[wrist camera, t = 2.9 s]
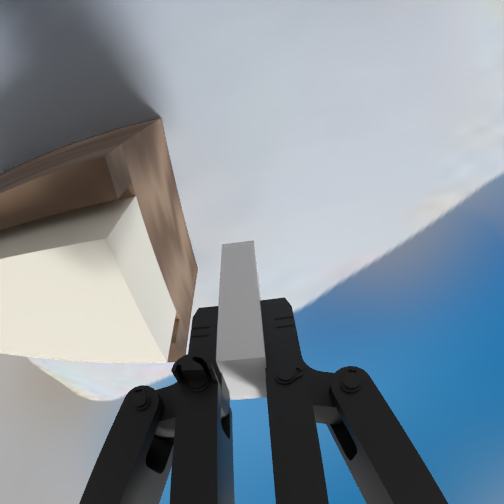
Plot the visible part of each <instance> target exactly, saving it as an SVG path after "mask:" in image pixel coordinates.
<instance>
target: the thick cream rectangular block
mask: <svg viewBox="0 0 504 504" xmlns="http://www.w3.org/2000/svg"><path fill="white" fill-rule="evenodd" d="M175 316H176V309H175V307H174V304H173V302H172V299H171V297H170V294H169V292H168V289H167V286H166V284H165V281H164V279H163V276H162V273H161V270H160V268H159V265H158V262H157V259H156V256H155V254H154V251H153V248H152V245H151V242H150V239H149V236H148V233H147V230H146V227H145V224H144V221H143V218H142V214H141V211H140V208H139V205H138V201H137V198H136V196H133V197H128V198H123V199H119V200H114V201H110V202H105V203H101V204H96V205H92V206H88V207H83V208H79V209H75V210H71V211H67V212H63V213H60V214H56V215H52V216H48V217H45V218H41V219H37V220H34V221H30V222H27V223H23V224H20V225H17V226H13V227H10V228H7V229H4V230H1V231H0V353H3V354H10V355H17V356H25V357H33V358H43V359H53V360H66V361H81V362H102V363H167V361H168V355H169V349H170V343H171V338H172V332H173V327H174V321H175Z"/></svg>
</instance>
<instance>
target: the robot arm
mask: <svg viewBox="0 0 504 504" xmlns="http://www.w3.org/2000/svg"><path fill="white" fill-rule="evenodd" d="M171 371H172V373H173V374H174V376H175V378H176V379H177V381H178V382H177V383H175V384H173V385H171V386H168V387H165V388H162V389H158V390H154V389H153V388H151V387H149V386H142V385H141V386H138V387H135V388H133V389H132V390H130V391H129V392H128V394H127V395H126V397H125V399H124V401H123V403H122V405H121V407H120V410H119V412H118V414H117V416H116V418H115V421H114V423H113V425H112V427H111V429H110V432H109V434H108V436H107V438H106V441H105V443H104V445H103V448H102V450H101V452H100V454H99V457H98V459H97V461H96V464H95V466H94V469H93V471H92V473H91V476H90V478H89V481H88V483H87V486H86V488H85V491H84V493H83V496H82V498H81V501H80V504H159V502H160V499H161V496H162V493H163V490H164V487H165V484H166V481H167V478H168V475H169V472H170V469H171V466H172V473H171V492H170V504H234V503H235V502H234V473H233V437H232V436H233V435H232V411H231V408H230V401H229V400H230V398H231V400H238V399H249V398H261V397H267V402H268V414H269V426H270V436H271V449H272V461H273V473H274V485H275V497H276V504H329V503H328V496H327V489H326V483H325V477H324V470H323V464H322V457H321V451H320V445H319V439H318V433H317V428H316V423H324V424H327V426H328V428H329V430H330V432H331V434H332V436H333V438H334V440H335V442H336V444H337V446H338V448H339V450H340V452H341V454H342V456H343V458H344V460H345V462H346V464H347V466H348V468H349V470H350V472H351V474H352V476H353V478H354V480H355V482H356V484H357V486H358V487H359V489H360V491H361V493H362V495H363V497H364V499H365V501H366V503H367V504H448V503H447V501H446V499H445V498H444V496H443V494H442V492H441V490H440V489H439V487H438V485H437V484H436V482H435V480H434V479H433V477H432V475H431V474H430V472H429V470H428V469H427V467H426V465H425V464H424V462H423V460H422V459H421V457H420V455H419V454H418V452H417V450H416V449H415V447H414V446H413V444H412V442H411V441H410V439H409V437H408V436H407V434H406V433H405V431H404V429H403V428H402V426H401V425H400V423H399V421H398V420H397V418H396V417H395V415H394V413H393V412H392V410H391V409H390V407H389V406H388V404H387V403H386V401H385V400H384V398H383V396H382V395H381V393H380V392H379V390H378V388H377V387H376V385H375V384H374V382H373V381H372V379H371V378H370V376H369V375H368V374H367V373H366V372H365V371H364V370H363V369H361V368H358V367H353V366H348V367H344V368H341V369H339V370H338V371H336V372H335V373H328V372H321V371H316V370H314V369H312V368H310V367H309V366H308V365H306V363H305V362H304V361H303V359H302V356H301V351H300V346H299V341H298V336H297V331H296V326H295V321H294V316H293V311H292V306H291V305H290V304H289V302H288V301H287V300H286V299H285V298H278V299H270V300H262V301H261V292H260V283H259V276H258V268H257V261H256V254H255V247H254V241H247V242H239V243H231V244H223V245H222V256H221V272H220V288H219V306H215V307H205V308H199V309H198V310H197V312H196V313H195V315H194V317H193V320H192V330H191V338H190V344H189V352H188V354H187V355H184V356H183V357H181V358H179V359H178V360H177V361H176V362H175V363H174V365H173V368H172V370H171Z"/></svg>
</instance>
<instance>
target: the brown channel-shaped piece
mask: <svg viewBox="0 0 504 504" xmlns="http://www.w3.org/2000/svg"><path fill="white" fill-rule="evenodd" d="M133 196H136V198H137V201H138V205H139V208H140V211H141V214H142V218H143V221H144V224H145V227H146V230H147V233H148V236H149V239H150V242H151V245H152V248H153V251H154V254H155V256H156V259H157V262H158V265H159V268H160V270H161V273H162V276H163V279H164V281H165V284H166V286H167V289H168V292H169V294H170V297H171V299H172V302H173V304H174V307H175V309H176V316H175V321H174V327H173V332H172V338H171V343H170V349H169V355H168V361H167V362H176V361H177V360H178V359H179V358H181V357H183V356H184V355H186V347H187V340H188V332H189V325H190V317H191V310H192V304H193V297H194V290H195V284H196V277H197V271H198V268H197V264H196V261H195V257H194V254H193V250H192V246H191V242H190V239H189V235H188V231H187V227H186V223H185V219H184V216H183V212H182V208H181V204H180V199H179V195H178V191H177V187H176V183H175V178H174V174H173V170H172V165H171V161H170V156H169V152H168V147H167V143H166V138H165V133H164V128H163V123H162V118H158V119H154V120H150V121H146V122H142V123H138V124H134V125H131V126H127V127H123V128H120V129H116V130H113V131H109V132H106V133H103V134H100V135H97V136H94V137H90V138H87V139H84V140H82V141H79V142H76V143H73V144H70V145H67V146H65V147H62V148H59V149H57V150H54V151H52V152H49V153H47V154H44V155H42V156H39V157H37V158H35V159H32V160H30V161H28V162H25V163H23V164H21V165H19V166H17V167H14V168H12V169H10V170H8V171H6V172H4V173H2V174H0V231H1V230H4V229H7V228H10V227H13V226H17V225H20V224H23V223H27V222H30V221H34V220H37V219H41V218H45V217H48V216H52V215H56V214H60V213H63V212H67V211H71V210H75V209H79V208H83V207H88V206H92V205H96V204H101V203H105V202H110V201H114V200H119V199H123V198H128V197H133Z"/></svg>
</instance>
